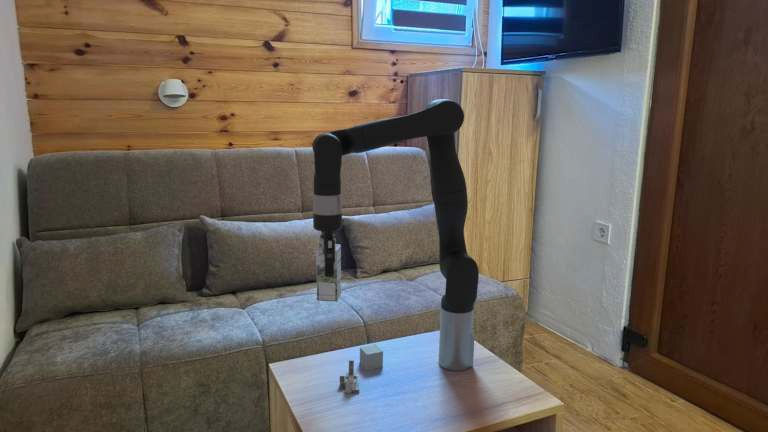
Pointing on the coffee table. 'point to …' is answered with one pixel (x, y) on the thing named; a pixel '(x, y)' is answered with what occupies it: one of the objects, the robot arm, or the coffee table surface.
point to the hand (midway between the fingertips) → (328, 272)
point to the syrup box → (328, 285)
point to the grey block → (371, 357)
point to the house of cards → (350, 380)
